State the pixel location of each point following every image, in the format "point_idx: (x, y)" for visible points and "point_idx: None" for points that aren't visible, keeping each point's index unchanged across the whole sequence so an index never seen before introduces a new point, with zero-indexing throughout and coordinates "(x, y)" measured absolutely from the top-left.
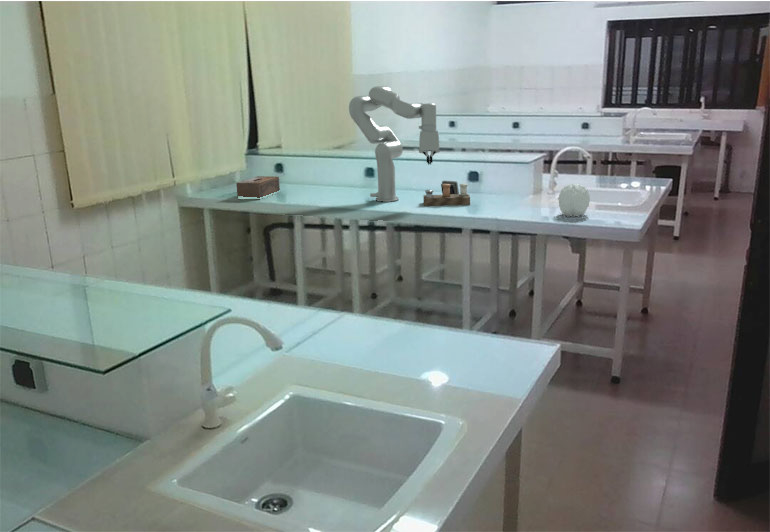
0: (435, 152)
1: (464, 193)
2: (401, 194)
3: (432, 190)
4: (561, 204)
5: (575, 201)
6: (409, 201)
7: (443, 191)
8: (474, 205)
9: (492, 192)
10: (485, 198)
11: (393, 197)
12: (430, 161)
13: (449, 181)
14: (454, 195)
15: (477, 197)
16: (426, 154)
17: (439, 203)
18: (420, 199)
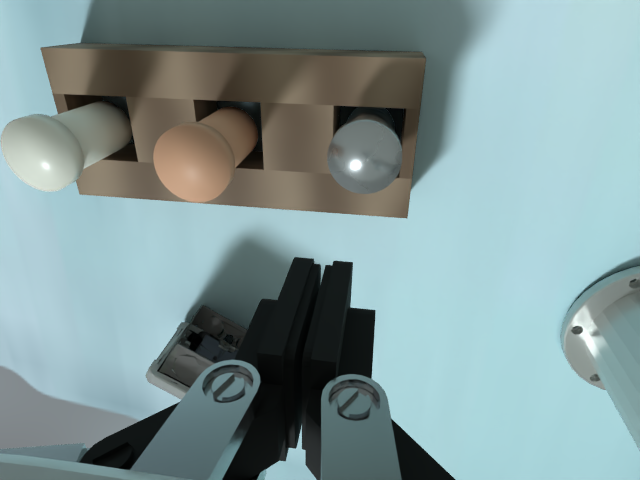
0: (91, 455)
1: (77, 108)
2: (500, 454)
3: (334, 144)
4: None
5: None
6: (498, 255)
7: (239, 137)
8: (46, 17)
9: (33, 385)
10: (31, 249)
11: (618, 307)
12: (296, 284)
13: None
14: None
15: (80, 286)
16: (371, 430)
17: (294, 49)
18: (412, 302)
